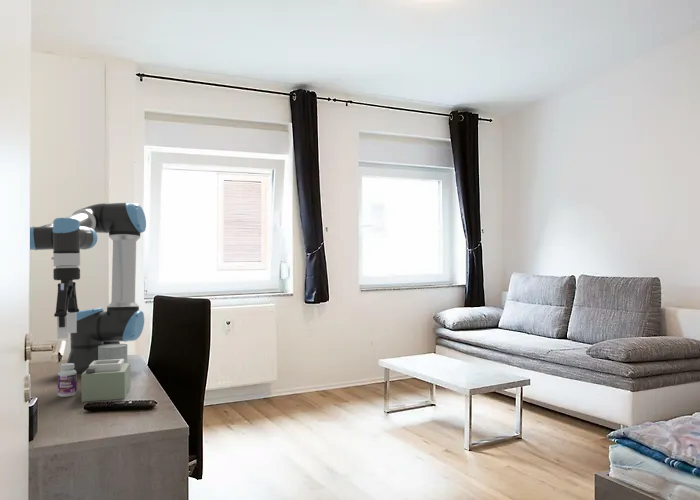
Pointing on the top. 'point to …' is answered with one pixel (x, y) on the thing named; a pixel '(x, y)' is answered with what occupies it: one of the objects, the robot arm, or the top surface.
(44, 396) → the top surface
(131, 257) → the robot arm
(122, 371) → the green open box
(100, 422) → the top surface
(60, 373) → the pill bottle
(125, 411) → the top surface
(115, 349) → the speckled grey cylinder
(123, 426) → the top surface
